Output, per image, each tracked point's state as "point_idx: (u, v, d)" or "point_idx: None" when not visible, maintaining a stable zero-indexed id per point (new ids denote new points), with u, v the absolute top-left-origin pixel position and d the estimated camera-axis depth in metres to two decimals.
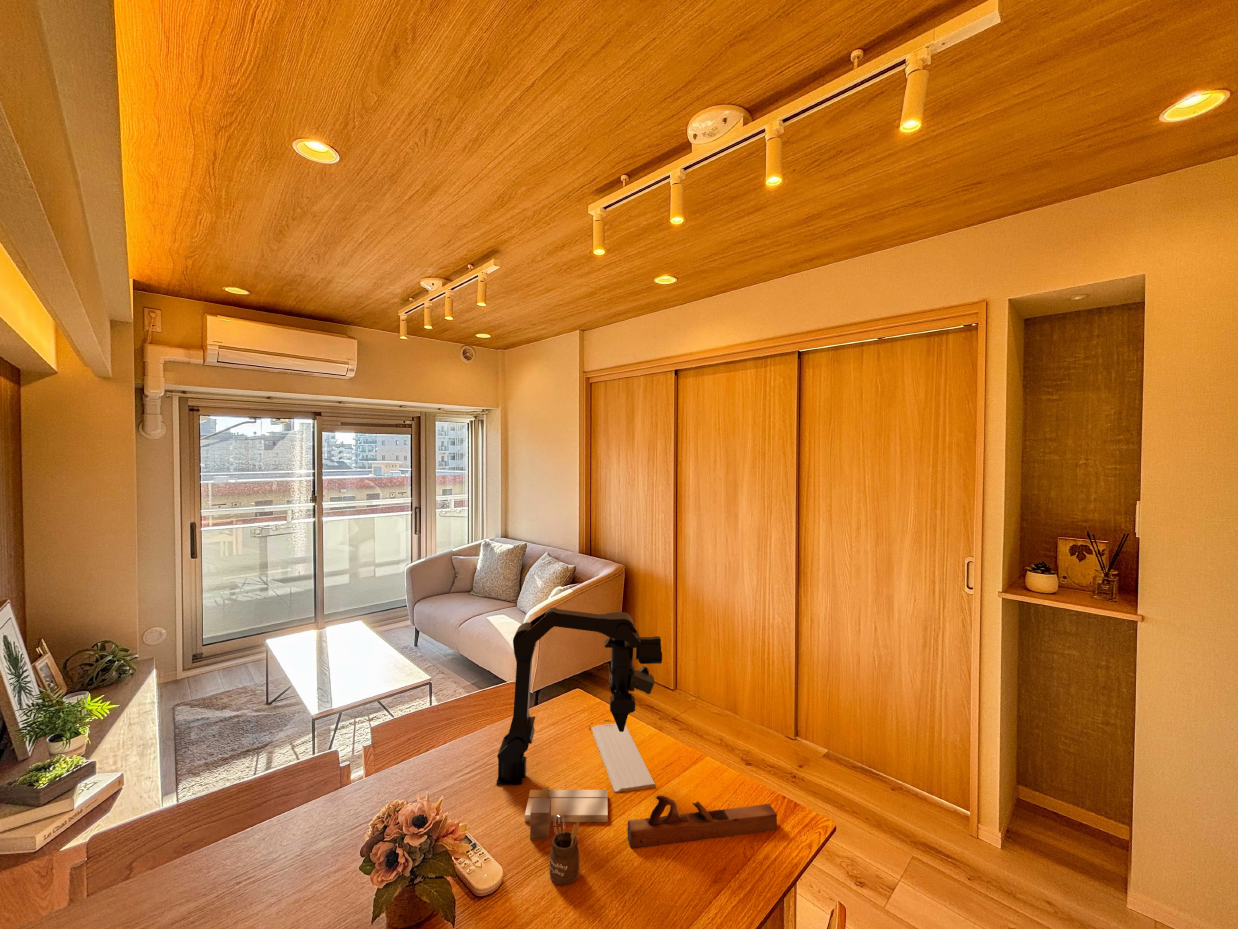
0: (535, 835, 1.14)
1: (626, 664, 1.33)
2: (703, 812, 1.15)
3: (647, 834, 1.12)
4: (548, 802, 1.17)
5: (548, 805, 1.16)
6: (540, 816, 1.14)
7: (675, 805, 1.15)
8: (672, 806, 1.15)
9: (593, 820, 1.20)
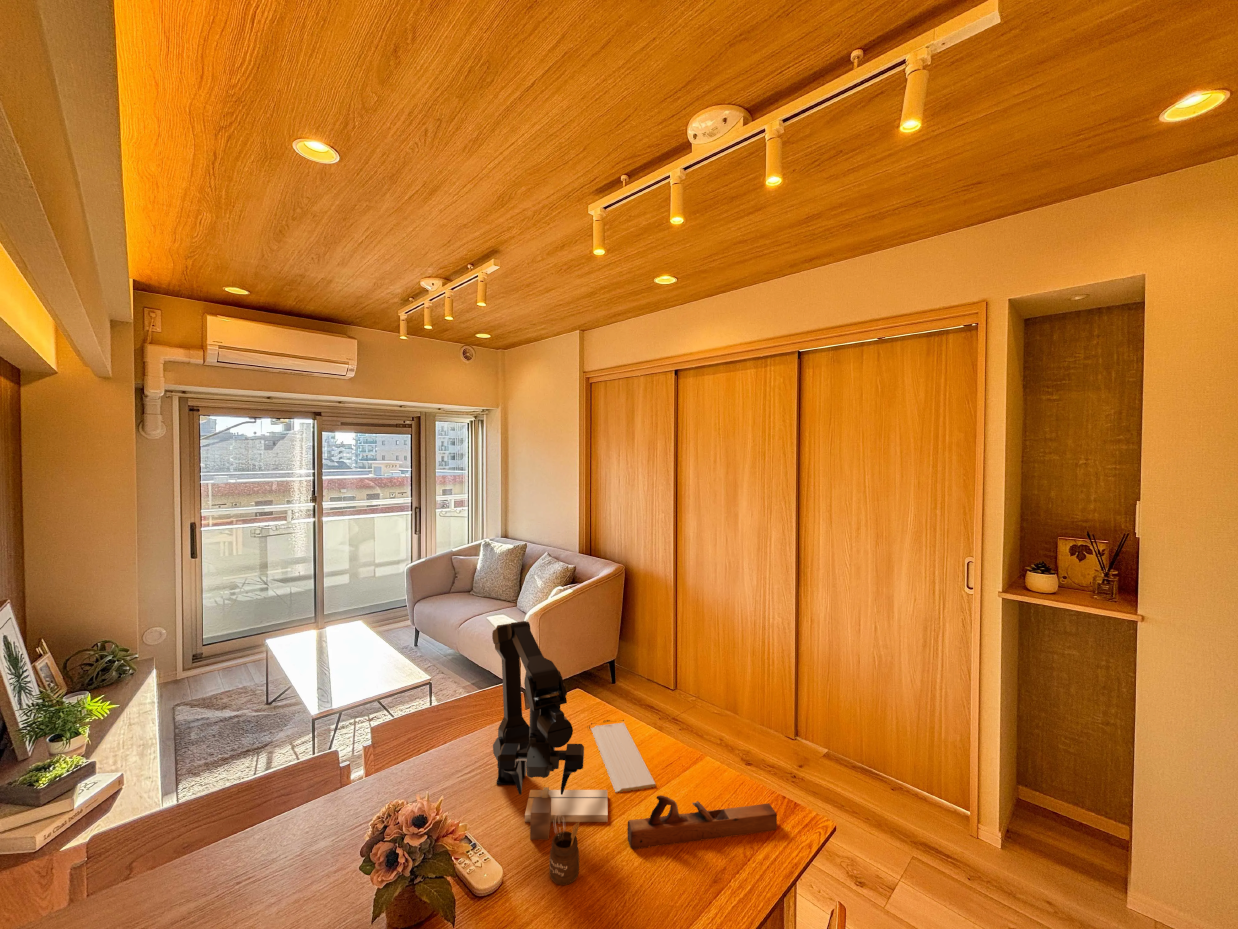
0: (535, 835, 1.14)
1: (532, 726, 1.14)
2: (703, 812, 1.15)
3: (647, 834, 1.12)
4: (548, 802, 1.17)
5: (548, 805, 1.16)
6: (541, 816, 1.14)
7: (675, 805, 1.15)
8: (672, 806, 1.15)
9: (593, 820, 1.20)
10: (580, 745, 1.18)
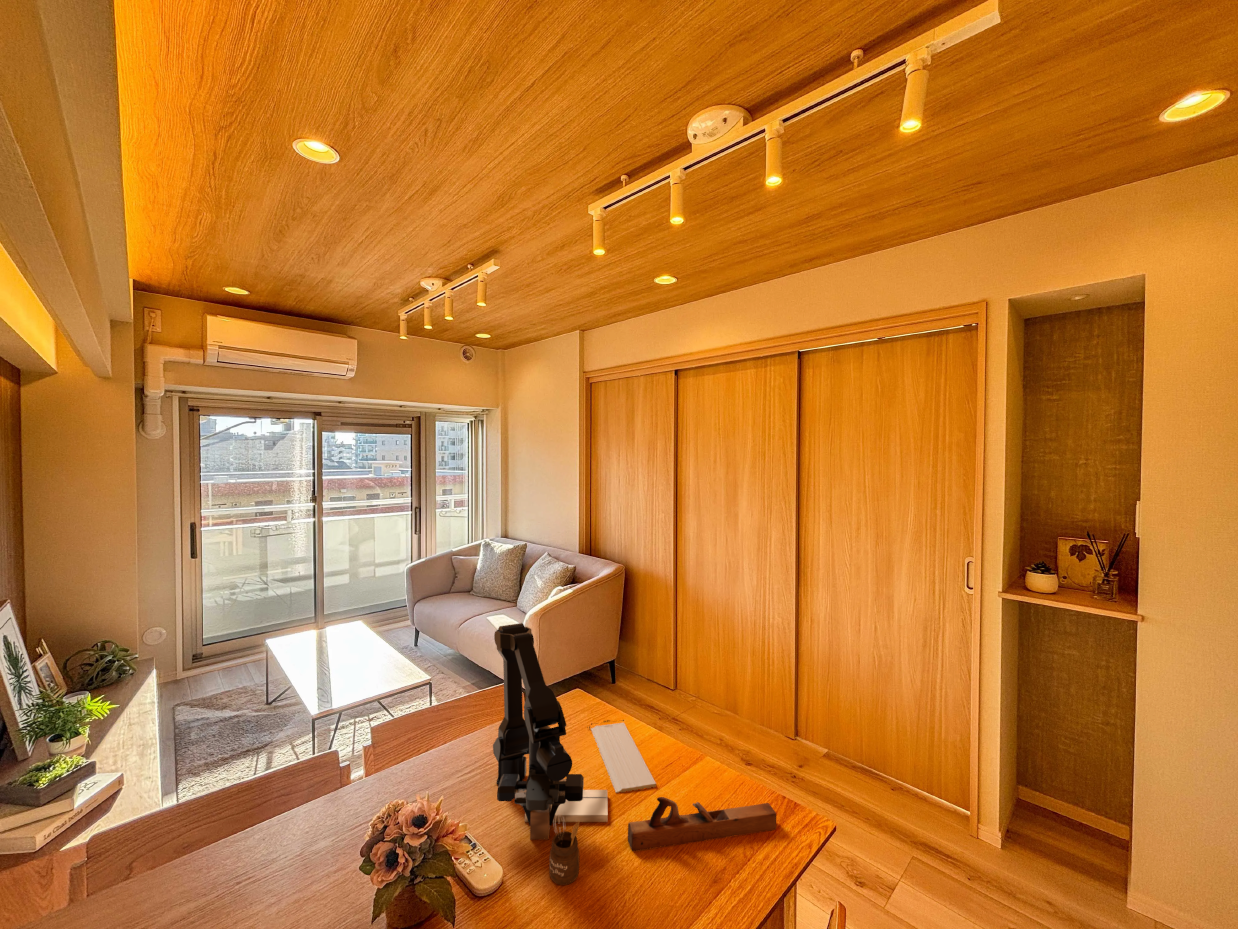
0: (535, 835, 1.14)
1: (532, 758, 1.14)
2: (703, 813, 1.15)
3: (648, 836, 1.12)
4: None
5: None
6: (540, 815, 1.14)
7: (676, 806, 1.15)
8: (673, 807, 1.14)
9: (593, 820, 1.20)
10: (580, 776, 1.18)
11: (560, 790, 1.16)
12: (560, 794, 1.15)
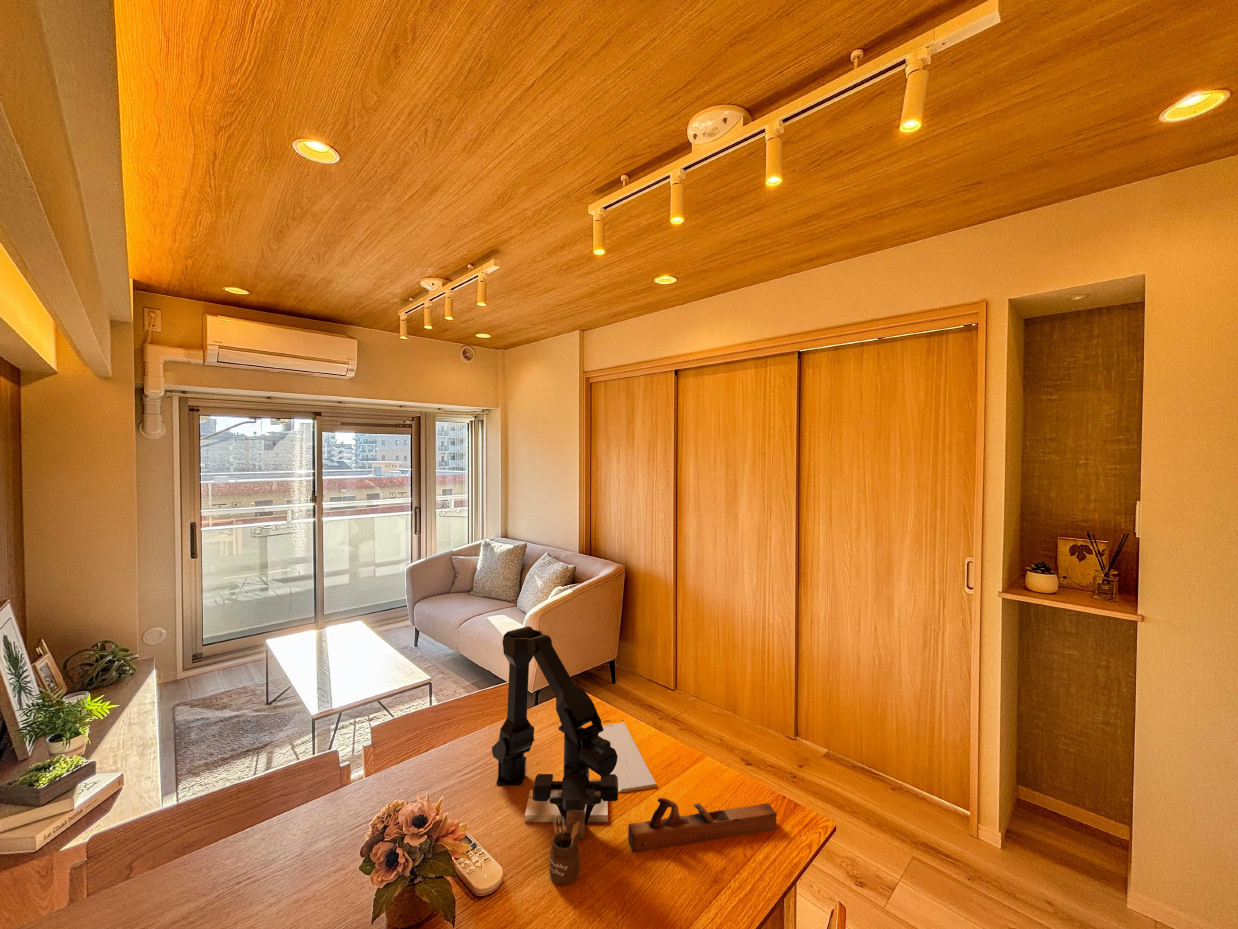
0: None
1: (570, 759, 1.14)
2: (704, 813, 1.15)
3: (648, 837, 1.11)
4: None
5: None
6: (576, 815, 1.14)
7: (676, 807, 1.14)
8: (673, 808, 1.14)
9: (593, 820, 1.20)
10: (614, 776, 1.18)
11: (595, 790, 1.16)
12: (595, 794, 1.15)
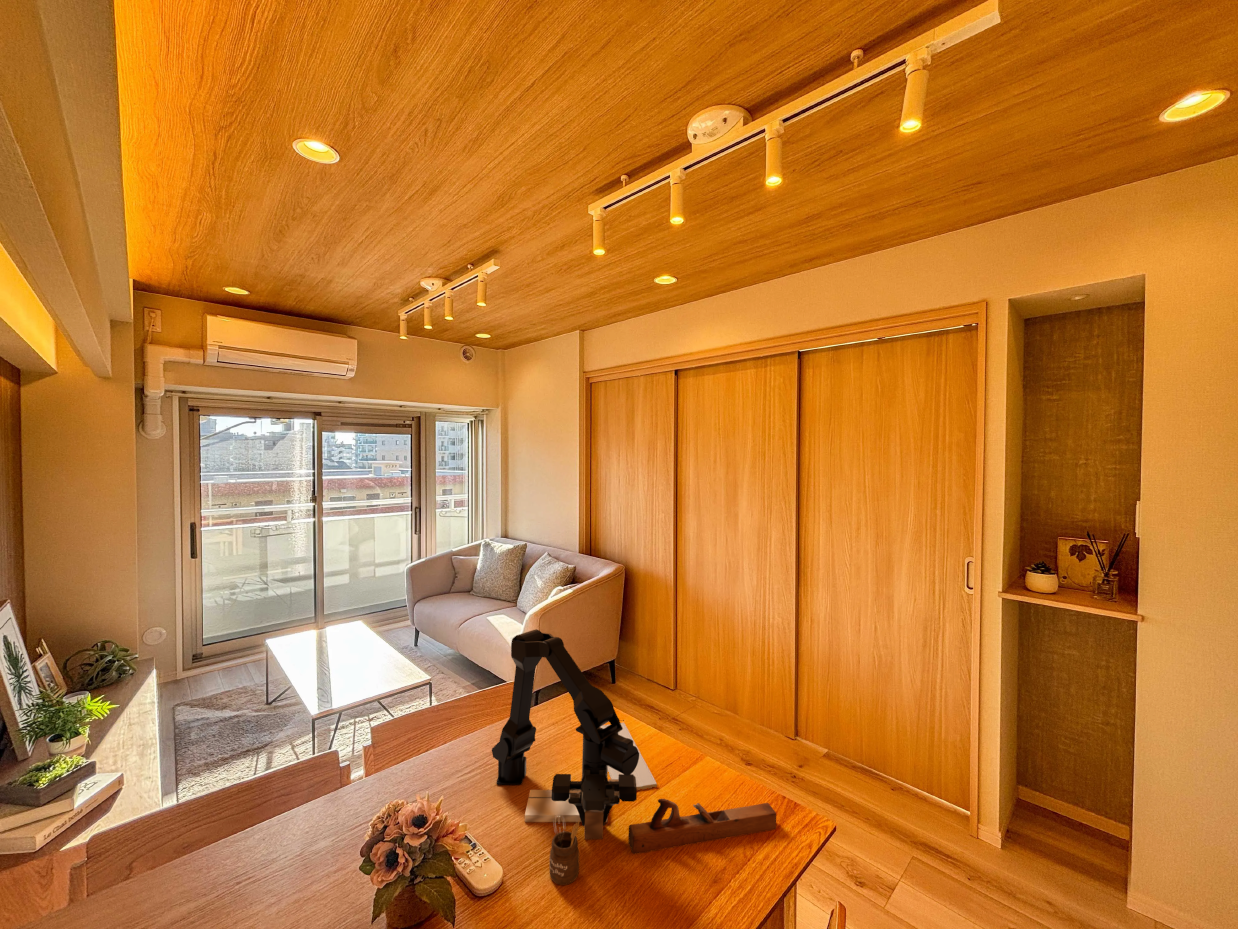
0: (590, 834, 1.14)
1: (590, 759, 1.14)
2: (704, 814, 1.15)
3: (649, 838, 1.11)
4: None
5: None
6: (595, 815, 1.14)
7: (676, 808, 1.14)
8: (673, 809, 1.14)
9: None
10: (632, 776, 1.18)
11: (613, 790, 1.16)
12: (614, 794, 1.16)
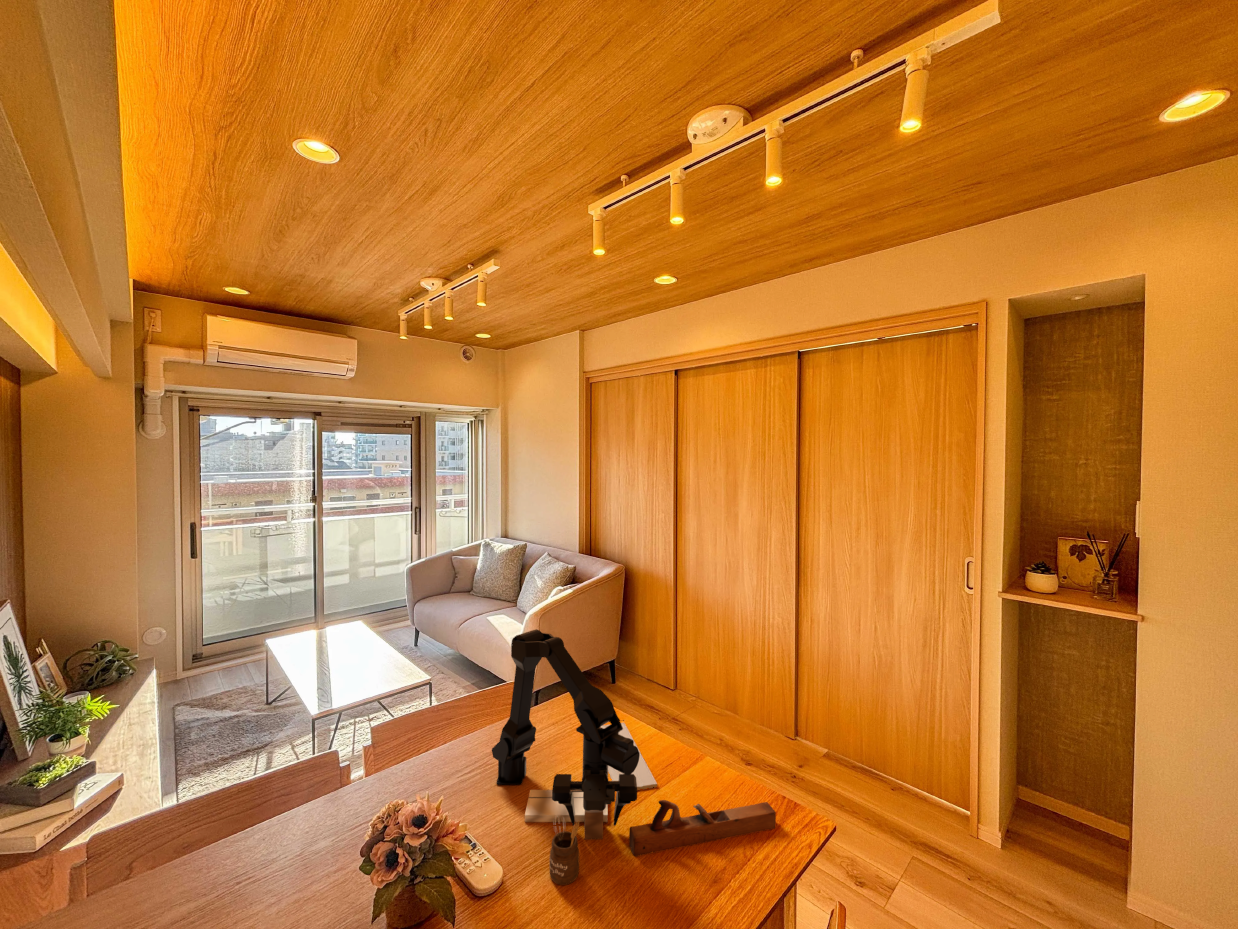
0: (590, 835, 1.14)
1: (591, 759, 1.14)
2: (705, 814, 1.15)
3: (650, 840, 1.11)
4: None
5: None
6: (595, 815, 1.14)
7: (677, 809, 1.14)
8: (674, 810, 1.13)
9: None
10: (632, 776, 1.18)
11: None
12: None
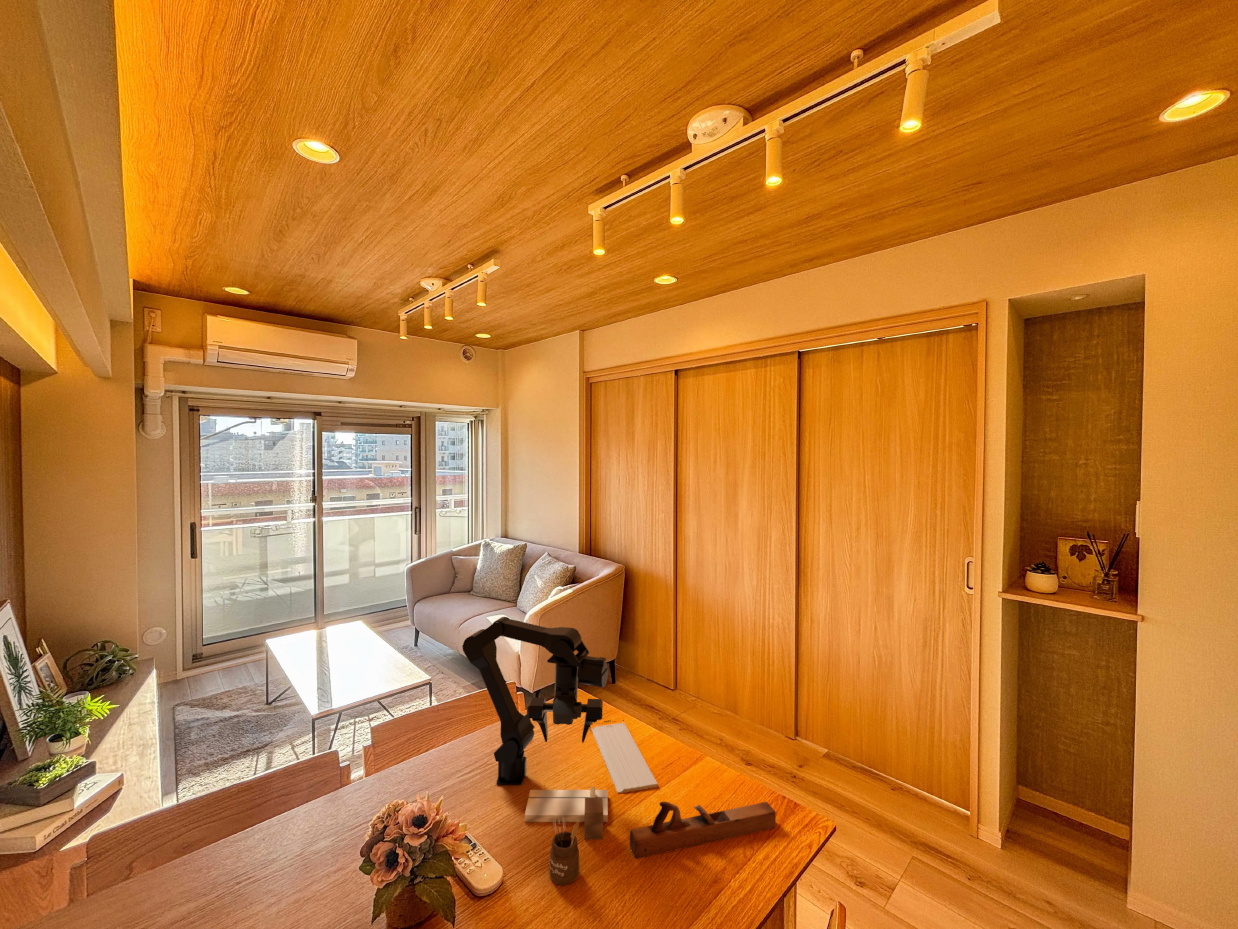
0: (590, 835, 1.14)
1: (566, 682, 1.28)
2: (705, 815, 1.14)
3: (651, 842, 1.10)
4: (600, 802, 1.18)
5: (601, 805, 1.17)
6: (595, 815, 1.14)
7: (678, 810, 1.13)
8: (675, 811, 1.13)
9: None
10: (599, 700, 1.33)
11: None
12: None
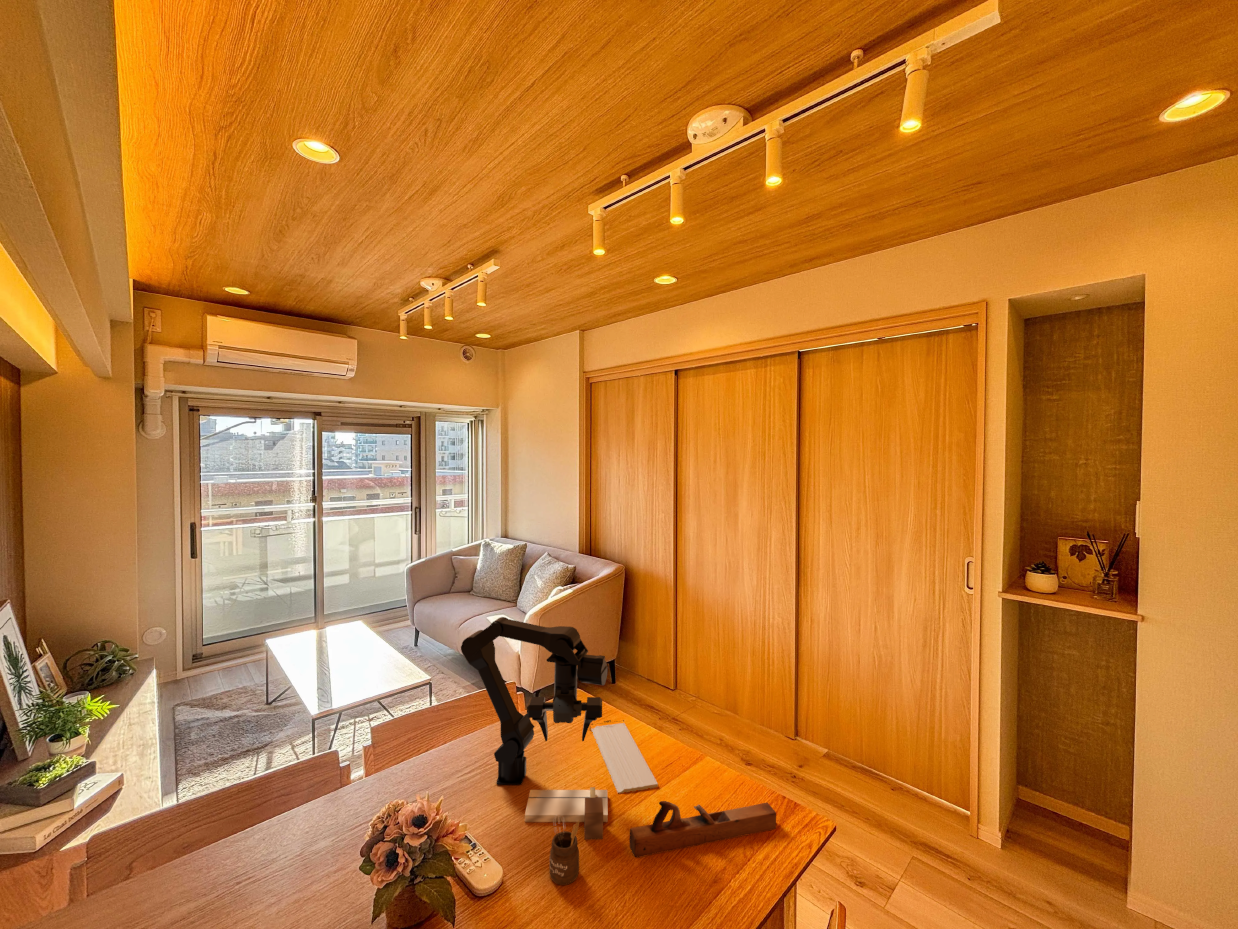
0: (590, 835, 1.14)
1: (566, 681, 1.29)
2: (705, 815, 1.14)
3: (651, 841, 1.10)
4: (600, 802, 1.18)
5: (601, 805, 1.17)
6: (595, 815, 1.14)
7: (677, 810, 1.13)
8: (675, 811, 1.13)
9: None
10: (599, 698, 1.33)
11: None
12: None
